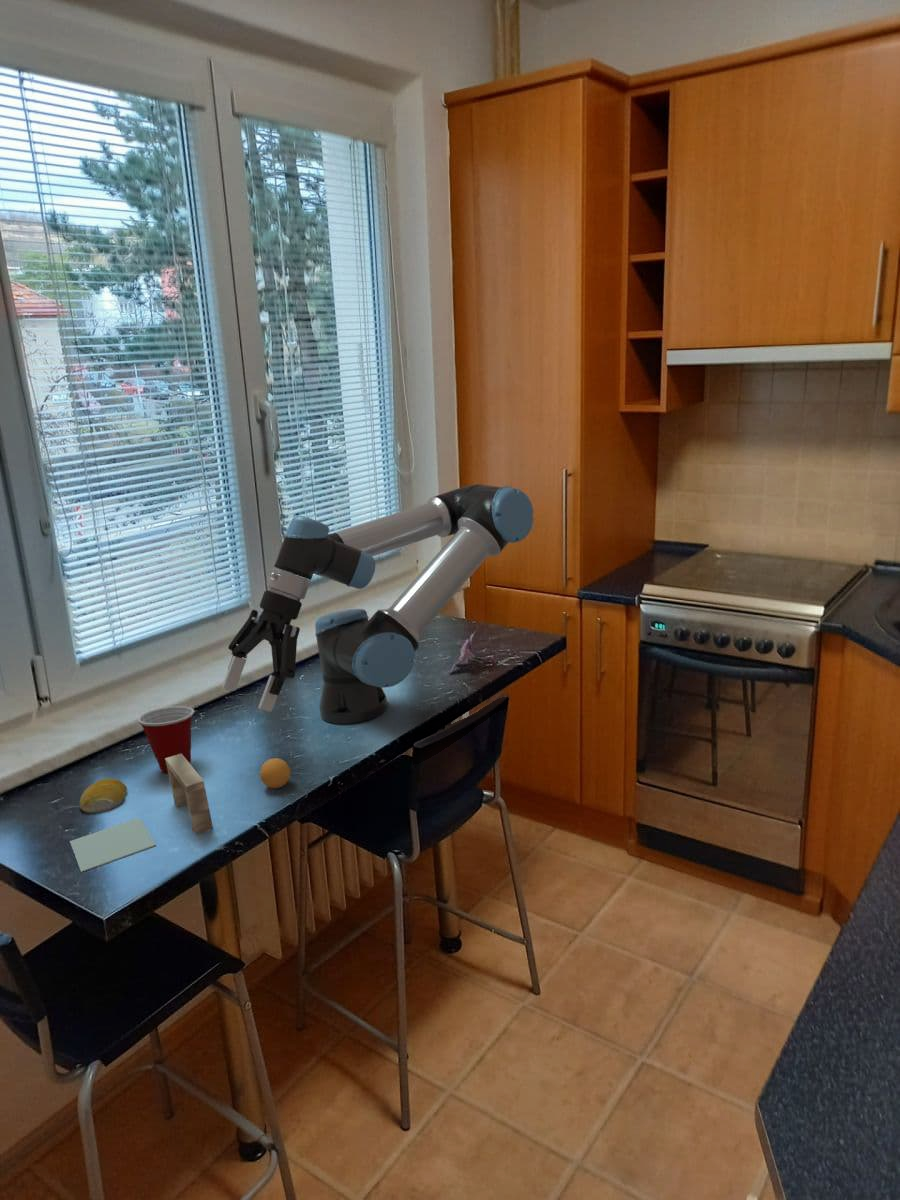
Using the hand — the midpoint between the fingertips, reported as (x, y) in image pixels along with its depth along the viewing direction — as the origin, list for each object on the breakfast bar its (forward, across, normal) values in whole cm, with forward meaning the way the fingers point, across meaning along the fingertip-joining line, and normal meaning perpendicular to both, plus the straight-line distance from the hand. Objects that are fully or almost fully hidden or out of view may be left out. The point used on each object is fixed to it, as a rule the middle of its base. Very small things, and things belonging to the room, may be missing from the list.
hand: (246, 699), depth 165 cm
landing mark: (+29, +4, -18) cm, 34 cm away
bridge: (+21, +7, -7) cm, 23 cm away
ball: (+11, +9, +5) cm, 15 cm away
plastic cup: (+19, -15, +1) cm, 25 cm away
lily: (-18, -5, +62) cm, 65 cm away
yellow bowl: (+28, -13, -13) cm, 33 cm away
